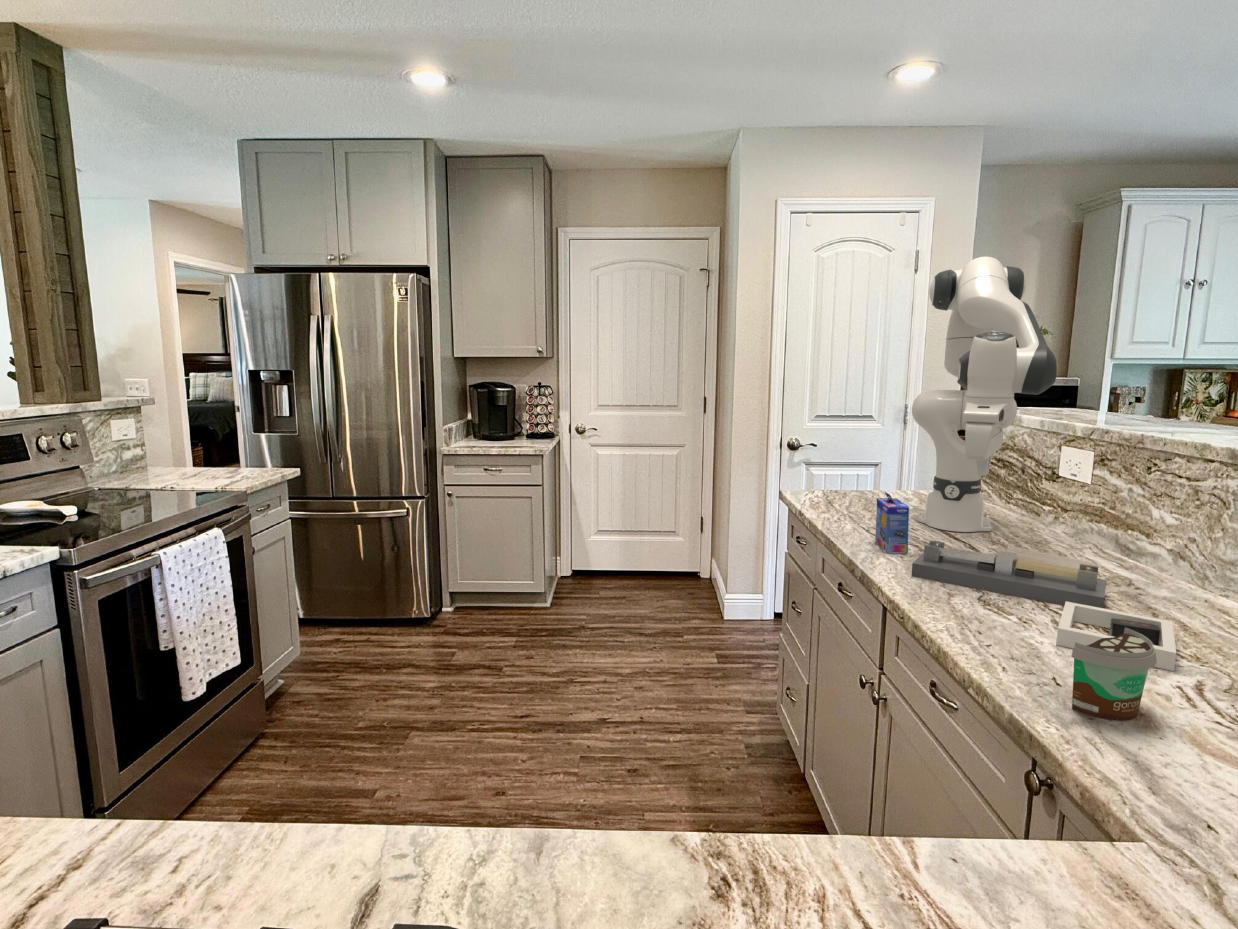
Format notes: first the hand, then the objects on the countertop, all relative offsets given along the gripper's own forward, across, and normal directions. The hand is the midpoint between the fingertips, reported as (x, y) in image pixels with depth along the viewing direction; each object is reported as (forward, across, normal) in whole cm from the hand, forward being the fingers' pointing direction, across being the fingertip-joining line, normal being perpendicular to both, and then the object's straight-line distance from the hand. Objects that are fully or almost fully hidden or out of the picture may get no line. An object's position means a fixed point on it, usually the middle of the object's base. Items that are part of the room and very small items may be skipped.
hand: (982, 474), depth 135 cm
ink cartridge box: (+24, -12, -21) cm, 34 cm away
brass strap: (+19, +1, +14) cm, 24 cm away
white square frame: (+23, +21, +25) cm, 40 cm away
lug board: (+23, +1, +6) cm, 24 cm away
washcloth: (+24, -18, +11) cm, 32 cm away
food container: (+23, +48, +26) cm, 59 cm away
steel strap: (+19, +1, -3) cm, 19 cm away
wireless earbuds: (+23, +18, +28) cm, 41 cm away
